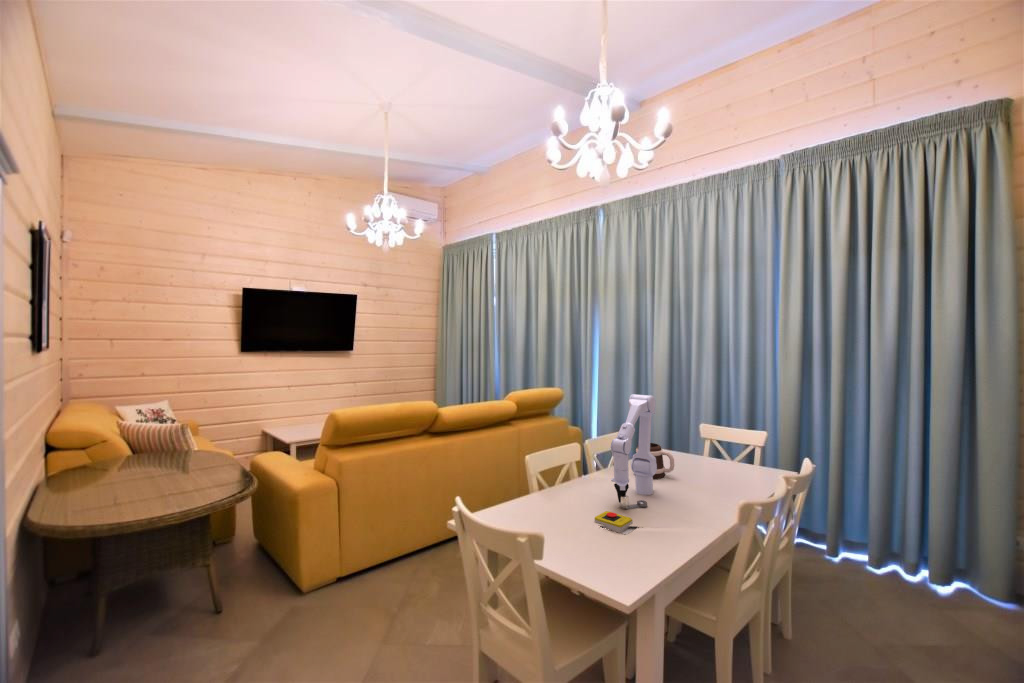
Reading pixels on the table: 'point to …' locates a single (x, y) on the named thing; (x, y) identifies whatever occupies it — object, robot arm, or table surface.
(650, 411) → the robot arm
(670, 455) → the mug
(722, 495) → the table surface
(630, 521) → the emergency button
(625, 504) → the crank
